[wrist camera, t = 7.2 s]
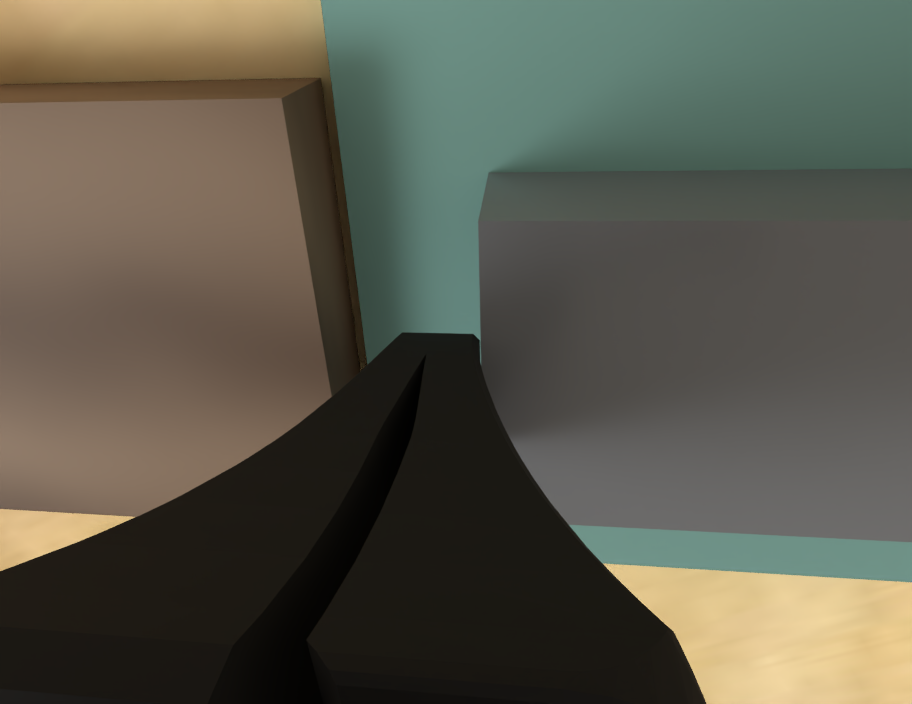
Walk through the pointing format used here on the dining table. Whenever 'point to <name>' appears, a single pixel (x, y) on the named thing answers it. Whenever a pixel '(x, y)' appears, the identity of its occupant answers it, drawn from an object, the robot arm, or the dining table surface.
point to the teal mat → (600, 155)
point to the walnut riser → (162, 285)
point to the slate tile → (706, 346)
